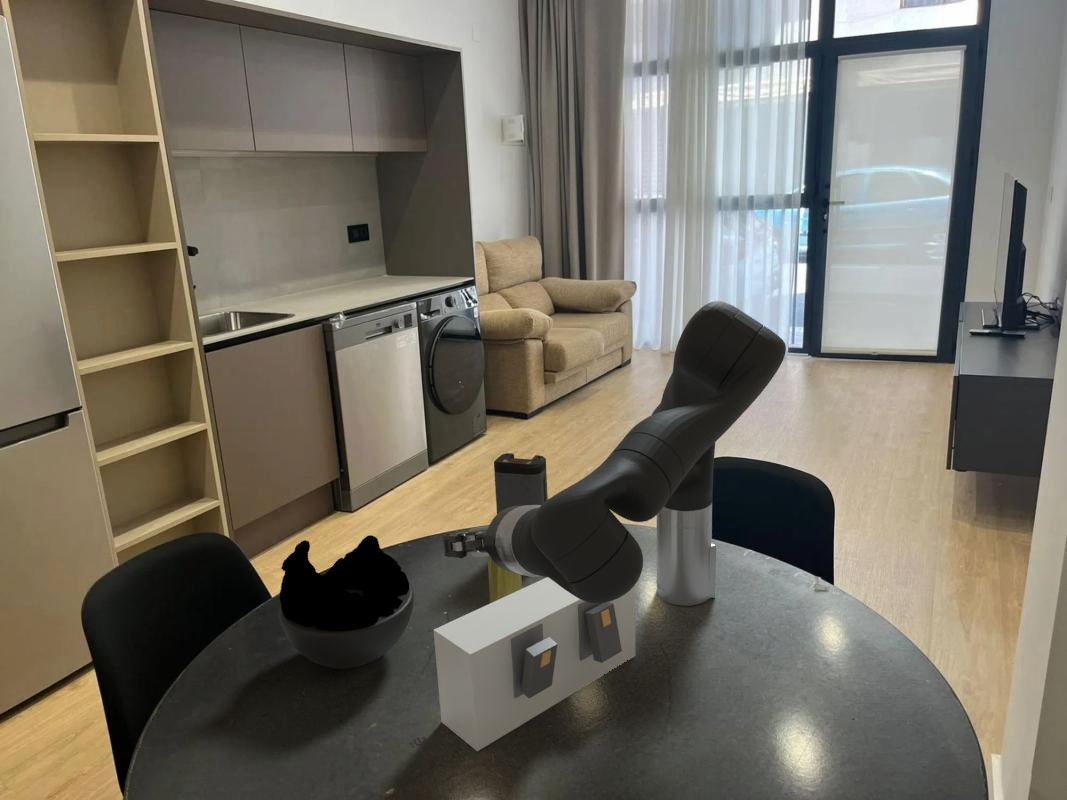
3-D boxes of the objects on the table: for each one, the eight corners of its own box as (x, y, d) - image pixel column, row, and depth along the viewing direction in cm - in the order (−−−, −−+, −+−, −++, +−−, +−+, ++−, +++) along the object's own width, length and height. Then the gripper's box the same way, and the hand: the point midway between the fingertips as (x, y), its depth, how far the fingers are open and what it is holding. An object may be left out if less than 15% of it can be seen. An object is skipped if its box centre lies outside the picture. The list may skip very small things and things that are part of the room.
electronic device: (552, 551, 155) (548, 455, 150) (542, 565, 149) (538, 465, 144) (507, 546, 158) (502, 452, 153) (496, 559, 152) (490, 462, 147)
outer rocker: (521, 691, 103) (525, 649, 100) (543, 678, 105) (549, 636, 102) (530, 699, 102) (535, 657, 99) (553, 686, 104) (558, 644, 101)
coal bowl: (445, 651, 123) (436, 540, 118) (334, 715, 109) (319, 592, 104) (369, 610, 136) (358, 508, 131) (262, 662, 122) (245, 551, 117)
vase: (527, 608, 134) (523, 531, 130) (523, 628, 128) (519, 547, 124) (492, 608, 135) (487, 531, 131) (486, 627, 129) (481, 547, 125)
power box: (441, 722, 106) (433, 629, 103) (597, 635, 125) (595, 554, 122) (478, 752, 100) (471, 655, 97) (636, 656, 119) (635, 572, 115)
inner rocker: (593, 660, 109) (585, 612, 109) (613, 648, 112) (605, 601, 111) (603, 663, 108) (594, 614, 107) (623, 651, 110) (614, 603, 110)
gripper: (585, 497, 88) (538, 501, 103) (462, 513, 84) (432, 514, 99) (594, 565, 87) (545, 559, 103) (469, 585, 83) (438, 575, 98)
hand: (490, 537), depth 101 cm, fingers open, 8 cm apart
